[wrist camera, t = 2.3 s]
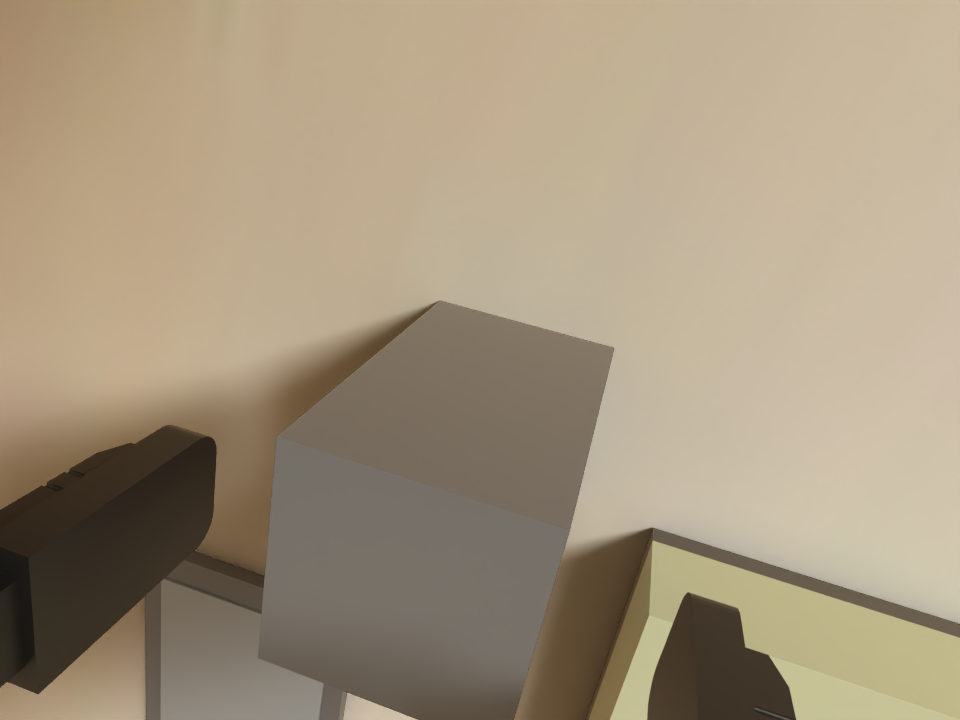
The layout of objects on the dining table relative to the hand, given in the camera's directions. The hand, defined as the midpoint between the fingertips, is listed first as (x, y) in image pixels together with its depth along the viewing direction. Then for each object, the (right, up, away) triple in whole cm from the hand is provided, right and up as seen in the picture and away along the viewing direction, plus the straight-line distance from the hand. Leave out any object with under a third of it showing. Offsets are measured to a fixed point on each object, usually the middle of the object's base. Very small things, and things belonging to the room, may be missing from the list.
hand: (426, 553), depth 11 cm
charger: (+2, +2, +5) cm, 5 cm away
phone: (-7, -9, +12) cm, 16 cm away
